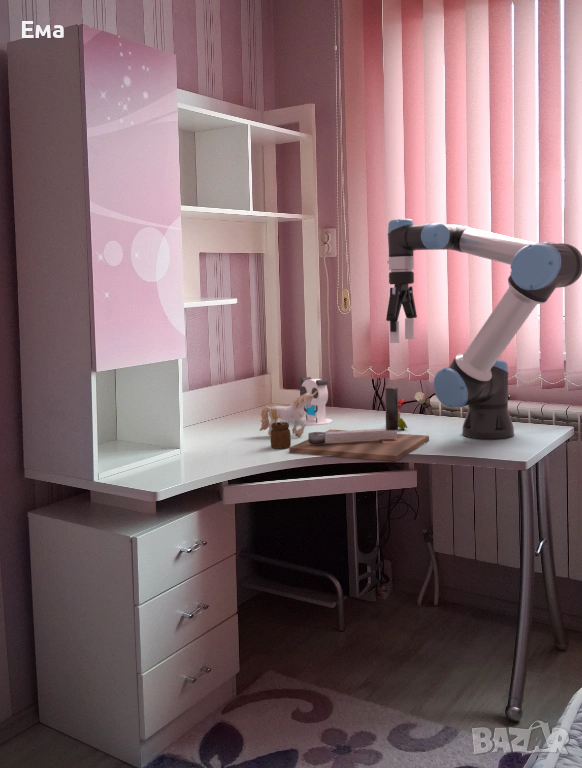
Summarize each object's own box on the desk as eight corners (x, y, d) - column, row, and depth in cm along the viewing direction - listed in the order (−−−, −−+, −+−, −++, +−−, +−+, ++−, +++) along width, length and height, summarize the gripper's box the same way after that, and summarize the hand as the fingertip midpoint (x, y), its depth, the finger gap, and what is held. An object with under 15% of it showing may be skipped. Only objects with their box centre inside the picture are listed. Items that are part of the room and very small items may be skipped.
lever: (310, 444, 225) (308, 393, 223) (307, 440, 230) (305, 391, 228) (400, 438, 229) (399, 388, 227) (396, 435, 233) (395, 386, 232)
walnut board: (428, 440, 236) (428, 435, 235) (396, 461, 211) (396, 455, 211) (330, 434, 250) (330, 428, 250) (289, 452, 226) (289, 446, 226)
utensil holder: (294, 445, 235) (293, 405, 233) (283, 450, 230) (281, 409, 228) (278, 444, 238) (276, 404, 237) (266, 448, 233) (264, 407, 231)
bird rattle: (383, 434, 258) (390, 427, 250) (379, 401, 261) (386, 393, 253) (402, 433, 259) (410, 426, 251) (398, 400, 262) (405, 392, 254)
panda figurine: (291, 421, 275) (290, 378, 273) (318, 417, 281) (317, 375, 279) (311, 426, 265) (310, 381, 263) (339, 422, 271) (337, 378, 269)
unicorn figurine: (324, 435, 248) (323, 393, 247) (262, 440, 245) (261, 397, 243) (319, 431, 255) (317, 390, 254) (259, 436, 252) (257, 394, 250)
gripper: (403, 271, 255) (404, 337, 258) (374, 271, 233) (376, 344, 236) (425, 270, 251) (426, 337, 254) (398, 271, 229) (400, 344, 232)
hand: (402, 340), depth 245 cm, fingers open, 13 cm apart
